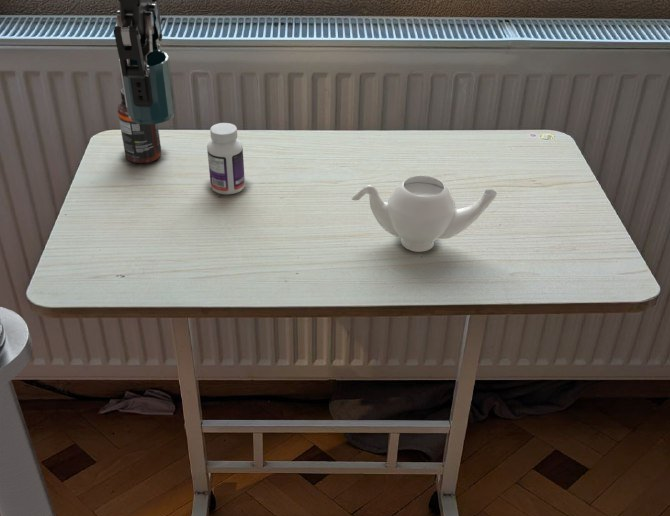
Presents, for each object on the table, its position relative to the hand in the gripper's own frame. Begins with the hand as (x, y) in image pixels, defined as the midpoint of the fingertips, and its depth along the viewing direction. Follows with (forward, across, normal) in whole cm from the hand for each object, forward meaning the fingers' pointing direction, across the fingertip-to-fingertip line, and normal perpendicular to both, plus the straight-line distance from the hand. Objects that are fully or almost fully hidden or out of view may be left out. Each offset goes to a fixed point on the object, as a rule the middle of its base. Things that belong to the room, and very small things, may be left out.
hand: (148, 93), depth 102 cm
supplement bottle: (+23, -27, -9) cm, 37 cm away
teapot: (+23, -4, +35) cm, 42 cm away
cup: (+3, 0, 0) cm, 3 cm away
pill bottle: (+23, -18, +6) cm, 30 cm away
